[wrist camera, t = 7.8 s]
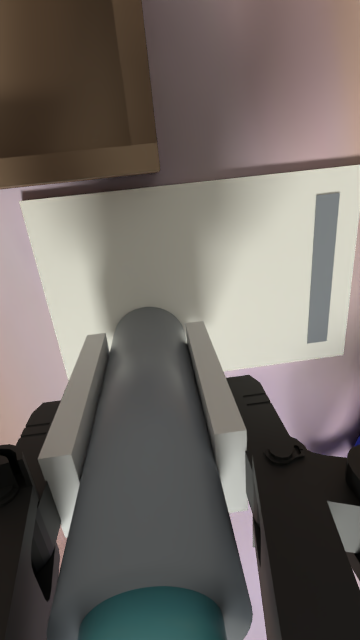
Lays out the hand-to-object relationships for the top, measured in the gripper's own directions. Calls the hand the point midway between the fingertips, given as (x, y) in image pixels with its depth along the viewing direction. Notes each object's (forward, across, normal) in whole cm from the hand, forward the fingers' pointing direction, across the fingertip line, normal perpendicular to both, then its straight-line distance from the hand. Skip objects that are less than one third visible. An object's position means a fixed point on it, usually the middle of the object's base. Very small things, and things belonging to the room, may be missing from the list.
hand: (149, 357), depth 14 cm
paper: (+2, +3, +2) cm, 4 cm away
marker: (+2, 0, 0) cm, 2 cm away
